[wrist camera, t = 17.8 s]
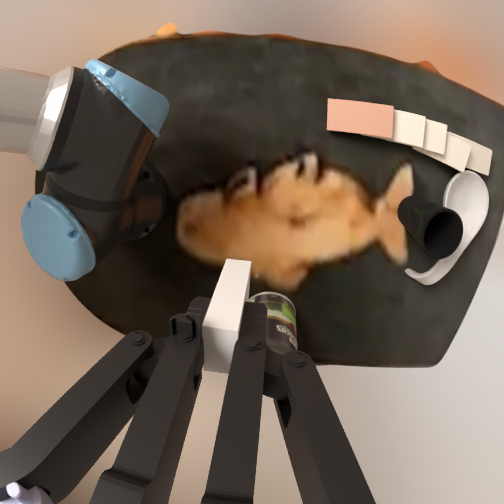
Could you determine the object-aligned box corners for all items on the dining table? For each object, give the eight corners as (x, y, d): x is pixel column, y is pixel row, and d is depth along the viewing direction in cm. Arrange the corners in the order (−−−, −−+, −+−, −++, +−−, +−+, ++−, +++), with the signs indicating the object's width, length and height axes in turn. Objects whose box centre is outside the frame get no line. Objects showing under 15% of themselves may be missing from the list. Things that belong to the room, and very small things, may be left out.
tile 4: (450, 162, 38) (488, 175, 38) (454, 134, 36) (492, 150, 36) (446, 161, 40) (483, 174, 39) (449, 134, 37) (487, 149, 37)
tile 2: (386, 140, 39) (443, 154, 36) (389, 110, 37) (447, 125, 34) (385, 140, 41) (441, 154, 37) (388, 111, 39) (445, 125, 35)
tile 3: (412, 148, 39) (463, 172, 36) (420, 121, 37) (471, 146, 34) (411, 148, 40) (461, 172, 38) (418, 122, 38) (468, 146, 35)
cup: (428, 229, 46) (461, 255, 35) (392, 234, 47) (420, 263, 36) (428, 188, 43) (464, 206, 32) (391, 192, 44) (422, 211, 33)
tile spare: (326, 129, 40) (391, 138, 36) (328, 98, 38) (393, 106, 34) (328, 130, 41) (391, 138, 37) (329, 100, 39) (392, 107, 35)
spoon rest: (451, 155, 40) (473, 161, 33) (486, 189, 41) (508, 198, 35) (391, 264, 49) (405, 282, 43) (430, 286, 50) (445, 305, 44)
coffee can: (278, 281, 52) (278, 330, 39) (304, 320, 55) (310, 372, 42) (232, 305, 55) (219, 355, 42) (260, 340, 58) (255, 392, 45)
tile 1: (361, 134, 39) (422, 147, 36) (363, 104, 37) (425, 116, 34) (361, 135, 41) (420, 147, 37) (363, 105, 39) (423, 117, 35)
